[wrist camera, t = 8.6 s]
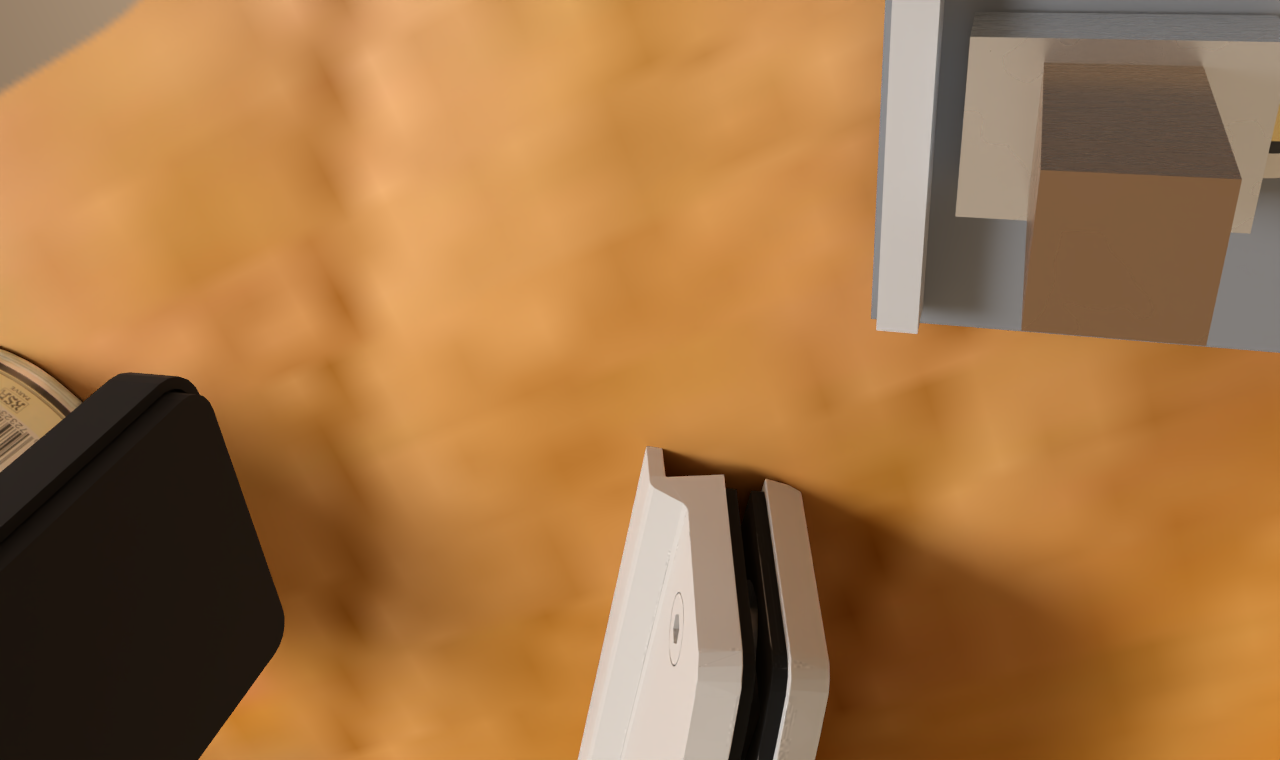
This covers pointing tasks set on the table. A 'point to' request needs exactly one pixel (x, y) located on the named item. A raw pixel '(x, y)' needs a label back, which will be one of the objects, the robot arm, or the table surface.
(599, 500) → the table surface
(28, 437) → the coffee can
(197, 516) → the robot arm
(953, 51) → the gauge board
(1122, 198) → the trammel slider
